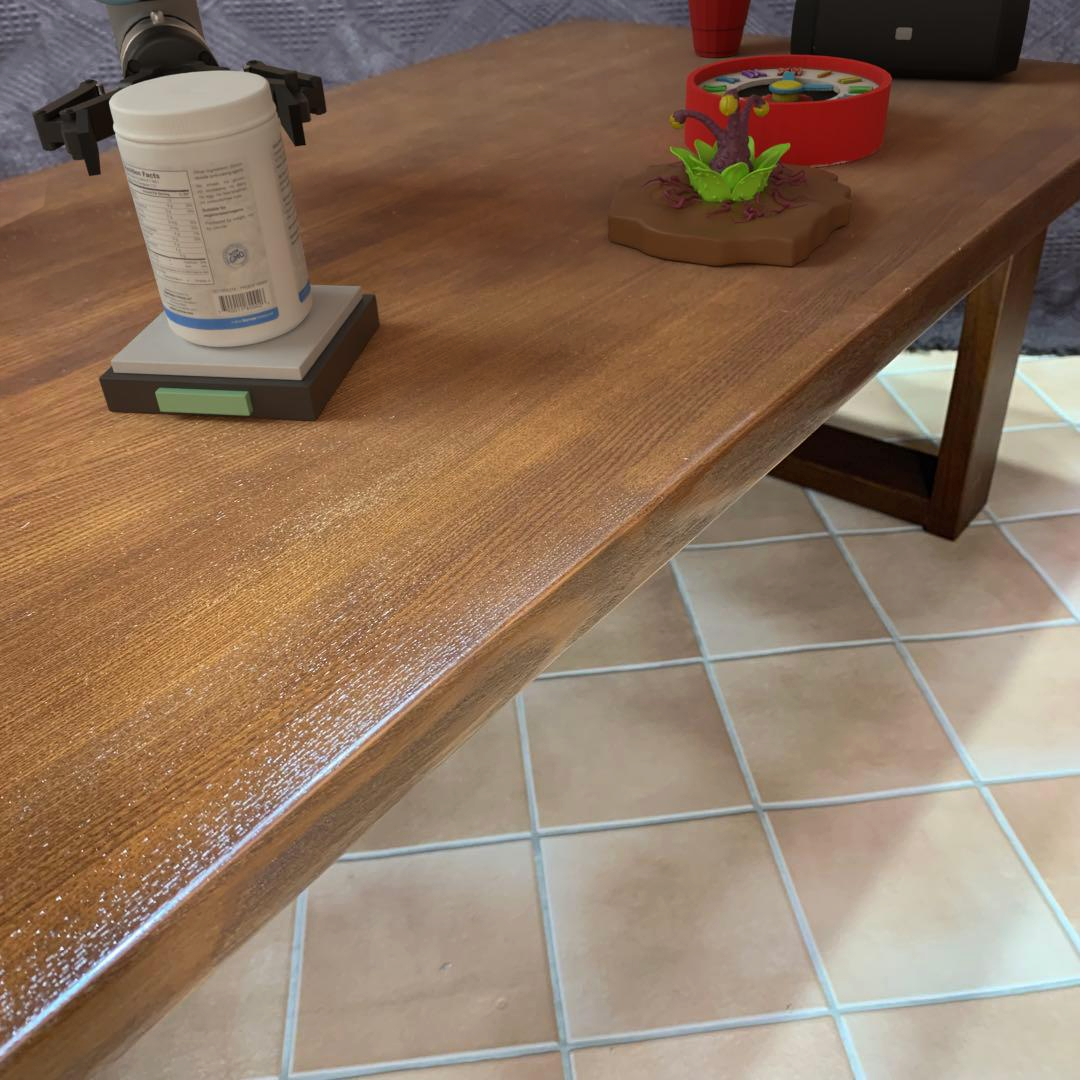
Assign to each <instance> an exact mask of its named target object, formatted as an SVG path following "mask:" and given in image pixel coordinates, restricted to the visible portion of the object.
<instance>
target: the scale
mask: <svg viewBox="0 0 1080 1080" xmlns="http://www.w3.org/2000/svg"><path fill="white" fill-rule="evenodd" d="M310 286H311V292H312V306H311V309H310V311H309V313H308V315H307V316H306V317H305V319H304V320H303V321H302V322H301V323H300V324H299V325H298V326H296V327H295V328H293V329H292V330H290V331H289V332H287V333H285V334H283V335H280V336H278V337H275V338H272V339H270V340H267V341H263V342H260V343H255V344H249V345H243V346H235V347H210V346H203V345H198V344H194V343H191V342H189V341H186V340H184V339H182V338H181V337H179V336H178V335H177V334H175V333H174V331H173V330H172V329H171V328H170V326H169V324H168V320H167V317H166V313H165V310H164V309H163V311H162V312H160V313H159V315H157V317H156V318H154V320H153V321H151V322H150V323H149V324H148V325H147V326H146V327H145V328H144V329H143V330H142V331H141V332H139V333H138V334H137V335H136V336H135V337H134V338H133V339H132V340H131V341H129V343H127V345H125V346H124V347H123V348H122V349H121V350H120V351H119V352H118V353H117V354H116V355H115V356H114V357H113V358H111V359H110V364H111V366H110V367H109V368H108V369H107V370H106V371H104V372H103V373H102V375H100V376H99V377H98V381H99V384H100V387H101V391H102V393H103V396H104V399H105V403H106V406H107V409H108V411H109V412H117V413H118V412H120V413H121V412H122V413H141V414H142V413H144V414H162V415H165V414H166V415H186V416H204V417H206V416H207V417H226V418H227V417H228V418H248V419H250V418H251V419H268V420H269V419H270V420H289V421H291V420H292V421H316V420H317V419H318V418H319V416H320V415H321V413H322V412H323V410H324V408H326V406H327V404H328V403H329V401H330V400H331V398H332V397H333V395H334V394H335V392H336V391H337V389H338V388H339V387H340V385H341V383H342V382H343V380H344V379H345V377H346V376H347V374H348V373H349V371H350V370H351V368H352V367H353V366H354V364H355V363H356V361H357V359H358V358H359V357H360V355H361V354H362V352H363V351H364V349H365V348H366V346H367V345H368V343H369V342H370V340H371V339H372V337H373V336H374V334H375V333H376V331H377V330H378V328H379V327H380V325H381V323H380V318H379V310H378V304H377V296H376V294H375V293H363V289H362V286H361V285H333V284H332V285H331V284H329V285H328V284H326V285H325V284H310Z"/></svg>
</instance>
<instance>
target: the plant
mask: <svg viewBox="0 0 1080 1080" xmlns="http://www.w3.org/2000/svg"><path fill="white" fill-rule="evenodd" d="M739 99H740V97H739V96H738V93H737V89H736V88H734V89H730V90H728V91H727V92H726V93H725V94H724V96H723V97H722V98H721V100H720V111H721V112H722V113H723V114H724V115H726V116H728V115H729V117H728V126H726V128H725V131H724V130H723V129H722V128H720V127H719V126H718V125H717V124H716V123H715V121H714V120H712V119H711V118H710V117H708V115H706V114H703V113H702V112H698V111H695V110H686V109H679V110H675V111H673V113H671V115H670V117H669V126H671V128H672V129H674V130H681V129H683V127H685V121H686V118H687V117H692V118H695V119H697V120H699V121H701V122H702V123H703V124H704V125H705V126H706V127H707V128H708V129H709V130H710V131H711V132H712V133H713V135H714V137H715V138H716V142H715V145H714V147H713V148H712V147H711V146H710V145H708V144H706V143H704V142H703V141H701V140H698V139H696V140H695V142H694V145H695V148H696V150H697V152H698V154H697V155H695V154H694V153H692V152H691V151H689V150H686V149H684V148H681V147H673V146H669V151H670V152H671V153H672V154H673V155H674V156H675V157H678V160H680V161H674V162H668V163H659V164H651V165H648V166H647V168H646V171H644V172H642V173H640V174H638V175H635V176H631V177H630V178H629V177H628V178H626V179H623V180H622V181H621V182H619V185H618V186H617V190H616V192H615V194H614V196H613V197H612V200H611V201H610V204H609V207H608V214H607V231H608V240H609V241H610V242H611V243H616V244H619V245H621V246H626V247H630V248H633V249H636V250H639V251H641V252H642V253H644V254H645V255H647V256H652V257H655V258H659V259H664V260H668V261H677V262H684V263H693V264H697V265H705V266H712V267H720V266H728V265H735V264H759V265H769V266H779V267H780V266H781V267H790V268H791V267H794V266H795V265H797V264H798V263H800V262H803V261H805V260H807V259H808V258H809V257H810V254H811V253H812V252H813V251H814V250H815V249H816V248H818V247H821V246H823V245H824V244H825V243H826V242H827V240H828V239H829V237H830V235H831V233H832V232H833V231H834V230H837V229H838V228H841V227H845V226H847V225H849V222H850V215H851V208H852V201H851V192H852V189H851V187H850V186H849V185H846V184H843V183H842V182H839V178H838V175H837V174H835V173H832V172H830V171H827V170H824V169H821V168H819V167H808V166H799V165H790V164H784V163H781V161H780V160H779V159H780V157H781V156H782V155H783V154H784V153H785V152H786V151H787V150H788V149H789V148H790V143H786V144H780V145H776V146H773V147H771V148H769V149H768V150H766V151H765V152H763V153H762V154H761V155H760V156H759V157H758V158H756V157H754V141H753V139H752V137H751V136H748V123H749V115H750V111H751V109H752V108H751V107H752V104H754V111H755V113H756V115H757V116H760V117H764V116H765V115H767V113H768V112H769V104H768V103H767V101H765V100H764V99H763V98H761V97H760V96H757V95H754V94H753V95H752V96H750V97H749V99H748V100H747V101H746V104H744V108H743V110H742V111H741V115H740V109H741V106H740V104H739Z"/></svg>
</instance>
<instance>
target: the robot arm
mask: <svg viewBox="0 0 1080 1080" xmlns="http://www.w3.org/2000/svg"><path fill="white" fill-rule="evenodd" d="M94 1H95V2H97V3H100V4H104V5H105V6H106V11H107V14H108V18H109V22H110V26H111V30H112V34H113V39H114V45H115V49H116V52H117V57H118V61H119V63H120V66H121V72H122V77H123V78H122V79H120V80H119V81H118V86H117V88H109V89H105V86H104V83H102V82H98V80H96V79H92V78H88V79H84V81H81V82H80V83H79V84H78V85H79V86H78V87H77V88H75V89H73V90H72V91H70V92H68V93H66V94H64V95H63V96H61V97H59V98H57V99H55V100H53V101H51V102H50V103H48V104H46V105H44V106H42V107H40V108H38V109H37V110H35V111H33V112H32V113H31V115H32V119H33V122H34V125H35V128H36V132H37V136H38V138H39V141H40V145H41V147H42V150H43V151H45V152H54V151H56V150H58V149H61V148H62V147H64V146H65V150H66V153H67V154H69V155H71V158H72V160H74V161H84V164H85V167H86V170H87V174H88V177H93V176H100V175H102V172H101V171H102V170H101V161H100V151H99V150H100V148H99V146H98V143H99V142H101V141H104V140H106V139H107V138H108V139H109V138H110V137H113V136H115V131H114V129H113V124H114V121H113V117H112V113H111V109H110V105H109V101H110V99H111V97H112V96H113V95H114V94H116V93H117V92H119V91H120V90H122V89H124V88H126V87H129V86H131V85H134V84H137V83H140V82H143V81H147V80H151V79H155V78H159V77H164V76H169V75H175V74H183V73H190V72H202V71H232V70H231V69H230V68H229V67H227V66H220V64H219V62H218V60H217V59H216V58H215V55H214V54H213V52H212V50H211V49H210V47H209V46H208V44H207V41H206V39H205V35H204V31H203V25H202V21H201V20H202V19H201V16H200V12H199V6H198V2H197V0H94ZM245 64H246V65H243V67H242V69H243V72H248V73H253V74H257V75H260V76H262V77H264V78H265V79H266V80H267V81H268V82H269V85H270V90H271V94H272V99H273V102H274V103H275V105H276V112H277V114H278V119H279V124H280V126H281V127H282V128H283V130H284V131H285V133H286V135H287V136H288V138H289V139H290V141H291V142H292V145H293V146H294V147H296V148H297V147H303V146H307V143H306V137H305V131H304V125H303V124H305V123H310V122H311V121H312V116H311V115H315V116H322V115H324V114H326V113H327V112H328V110H327V104H326V96H325V90H324V84H323V78H322V76H319V75H316V74H311V73H305V72H300V71H297V70H295V69H293V70H292V69H286V68H283V67H277V66H272V65H269V64H266V63H264V62H263V61H261V60H257V59H251V60H249V61H247V62H245Z"/></svg>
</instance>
